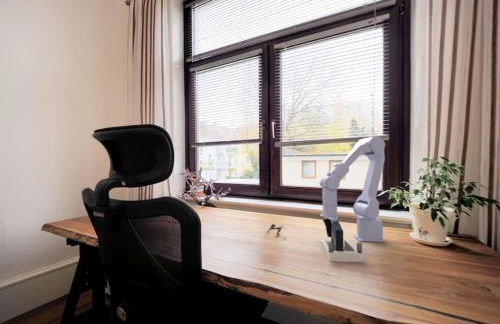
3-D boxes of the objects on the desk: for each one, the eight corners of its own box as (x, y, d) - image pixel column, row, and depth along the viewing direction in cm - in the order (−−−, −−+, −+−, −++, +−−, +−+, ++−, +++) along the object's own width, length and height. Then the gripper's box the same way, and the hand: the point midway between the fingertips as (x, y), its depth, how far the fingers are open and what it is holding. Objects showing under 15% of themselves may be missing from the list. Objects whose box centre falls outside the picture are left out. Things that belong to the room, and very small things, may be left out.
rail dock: (348, 246, 90) (348, 230, 90) (363, 262, 75) (362, 243, 75) (320, 245, 91) (319, 230, 92) (329, 261, 76) (328, 243, 76)
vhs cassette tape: (343, 260, 77) (343, 230, 77) (334, 259, 78) (334, 229, 78) (338, 242, 94) (338, 218, 95) (331, 242, 95) (330, 218, 96)
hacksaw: (271, 226, 124) (271, 223, 124) (290, 227, 121) (290, 224, 121) (261, 240, 101) (261, 236, 101) (285, 241, 98) (285, 238, 98)
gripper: (316, 201, 105) (317, 231, 104) (323, 207, 90) (324, 242, 90) (332, 201, 104) (333, 231, 104) (342, 207, 90) (343, 242, 89)
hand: (330, 236), depth 97 cm, fingers closed
